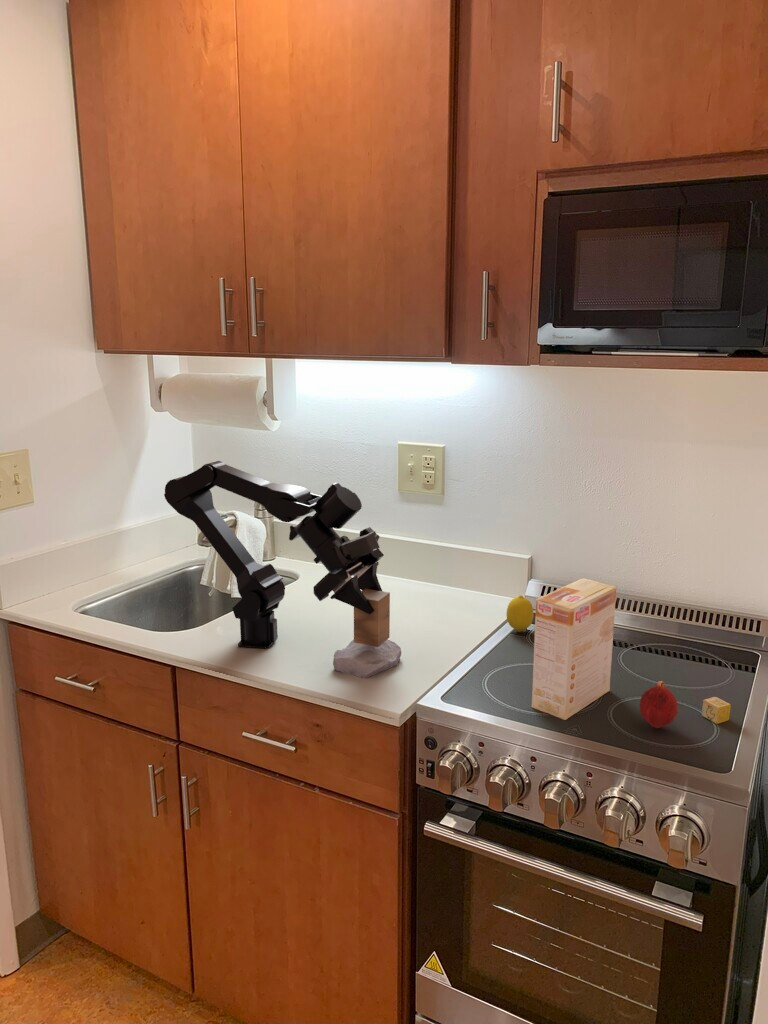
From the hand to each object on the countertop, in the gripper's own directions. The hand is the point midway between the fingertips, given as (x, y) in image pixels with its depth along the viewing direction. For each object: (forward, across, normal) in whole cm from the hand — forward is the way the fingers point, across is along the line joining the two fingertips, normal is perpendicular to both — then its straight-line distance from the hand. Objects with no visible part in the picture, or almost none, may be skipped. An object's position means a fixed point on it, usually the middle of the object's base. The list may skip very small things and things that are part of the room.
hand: (378, 608), depth 150 cm
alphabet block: (+50, +5, -34) cm, 60 cm away
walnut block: (+4, 0, +6) cm, 7 cm away
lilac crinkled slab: (+7, 0, +10) cm, 12 cm away
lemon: (+22, +28, -6) cm, 36 cm away
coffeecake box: (+34, +2, -17) cm, 38 cm away
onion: (+44, -2, -28) cm, 52 cm away
